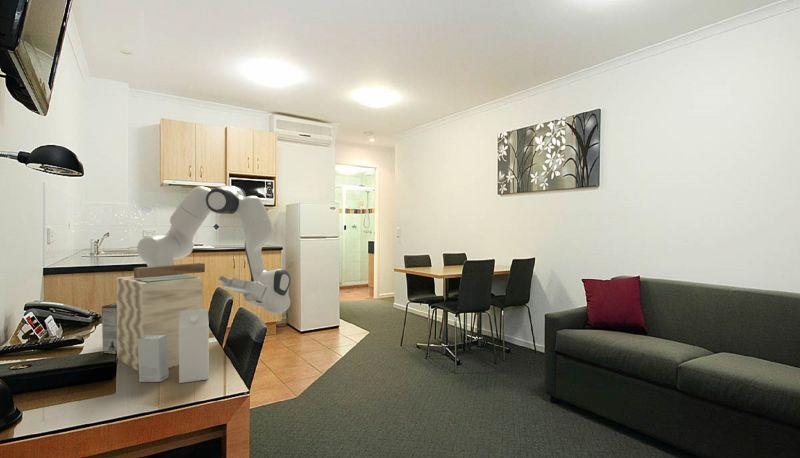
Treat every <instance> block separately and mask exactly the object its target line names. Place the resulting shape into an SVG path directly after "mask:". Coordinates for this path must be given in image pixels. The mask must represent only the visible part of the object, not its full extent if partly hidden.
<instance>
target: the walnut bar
mask: <svg viewBox="0 0 800 458" xmlns="http://www.w3.org/2000/svg"><path fill="white" fill-rule="evenodd" d="M205 264H206V263H202V262H196V263H195V262H194V263H183V264H175V265H166V266H153V267H148V266H140V267H133V276H134V277H136V278H146V277H157V276H168V275H179V274H183V275H188V274H189V275H191V274H199V273H200V274H201V273H205V271H206V270H205V269H206V268H205Z"/></svg>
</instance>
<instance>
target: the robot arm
mask: <svg viewBox="0 0 800 458" xmlns="http://www.w3.org/2000/svg"><path fill="white" fill-rule="evenodd" d="M211 212H213V213H216V214H221V215H225V214H227V215H229V214H230V215H232V214H236V215H237V216H238V217H239V220H240V222H241V226H242V228H243V232H244V238H245V240H244V250H245V255H246V259H247V264H248V268H249V272H250V281H249V280H243V279H238V278H237V277H232V278H231V277H230V278H229V277H225V276H224V275H220V276H219V277H218V281H219V282H221V283H222V287H223V288H225V289H227V290H230V291H232V292H234V293H238V294H242V296H243V298H244V301H245V302H247V303H249V304H251V305H253V306H256V307H260V308H261V309H262V310H264V311H266V312H269V313H272V314H275V315H280V314H284V313H285V312H286V311H288V309H289V308H290V305H291V298H290V295H289V292H290V291H289V289H290V285H291V282H292V279H291V275H290V273H289V272H288V271H287V270H286V269H284V268H278V269H277V268H276V269H272V270H266V268H265V263H264V260H263V255H262V249H263V247H264V245H265V244H266V243H267V242H268V241H269V240H270V239H271V236H272V235H273V231H274V230H273V224H272V222H271V219H270V218H271V217H270V216H269V213H268V210H267V209H266V207H265V204H264V203H263V201H262V200H261V199H260V197H258V196H257V195H248V196H247V194H246V192H245V191H244V189H243V188H241V187H239V186H237V185H223V186H216V187H214V188H212V189H211V188H209V187H206V186H203V185H198V186H195V187H194V188H193V189H192V190H191V191H189V193H188V194H187V195H186V196H185V197H184V198H183V200H182V201H181V202H180V203H179V205H178V206H177V208H175V210H174V211H173V213H172V214H171V216H170V217H169V223H170V228H169V229H168V231H167V232H166V233H160V234H159V233H158V234H151V235H148V236H145V237H142V238H141V239H140V240H139V242H138V243H137V246H136V247H137V248H136V252H137V254H138V256H139V258H141V259H142V260H143V261H144V262H145V263H146V267H153V266H166V265H176V264H175V260H180V259H183V258H185V257H188V256H190V254H192V252H193V249H194V242H193V240H194V237H195V235H196V233H197V231H198V229H199V228H200V227H201V225H202V224H203V222H204V221H205V220H206V218H207V217H208V215H209V214H210V213H211Z"/></svg>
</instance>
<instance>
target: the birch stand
mask: <svg viewBox="0 0 800 458" xmlns="http://www.w3.org/2000/svg"><path fill="white" fill-rule="evenodd" d="M115 285H116V303H117V355H116V359H117V358H118V359H117V360H119V361H120V362H122V363H123V364H126V365H127V366H129V367H131V368H132V369H134V370H136V371H137V372H139V360H138V341H137V340H138V339H139V338H141V337H143V336H146V335H167V348H168V369H169V368H173V366H174V367H179V319H180V311H187V310H200V309H203V304H204V303H203V301H204V300H203V277H199V276H194V275H190V274H189V275H188V274H179V275H168V276H157V277H146V278H136V277H134V275H131V276H120V277H116V284H115Z"/></svg>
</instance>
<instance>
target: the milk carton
mask: <svg viewBox="0 0 800 458" xmlns="http://www.w3.org/2000/svg"><path fill="white" fill-rule="evenodd" d="M209 320H210V319H209V309H208V308H204V309H200V310H187V311H180V319H179V365H178V383H179V384H185V383H190V382H199V381H206V380H209V375H210V373H209V372H210V353H209V352H210V346H209V345H210V343H209V342H210V341H209V339H210V337H209V332H210V331H209V330H210V329H209V328H210V327H209V324H210V323H209Z"/></svg>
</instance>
